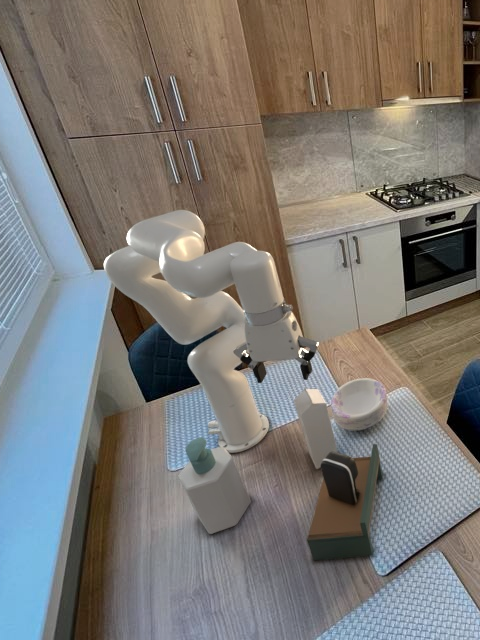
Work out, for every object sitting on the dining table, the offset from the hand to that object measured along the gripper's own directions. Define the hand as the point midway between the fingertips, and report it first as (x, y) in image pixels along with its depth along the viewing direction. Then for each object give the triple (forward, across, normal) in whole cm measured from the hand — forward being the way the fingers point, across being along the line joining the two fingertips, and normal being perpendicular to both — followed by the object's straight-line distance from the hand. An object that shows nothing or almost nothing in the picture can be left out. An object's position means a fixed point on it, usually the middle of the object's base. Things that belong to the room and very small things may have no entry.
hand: (285, 377), depth 88 cm
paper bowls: (+31, -10, -16) cm, 36 cm away
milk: (+31, -2, -4) cm, 31 cm away
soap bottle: (+31, +17, +9) cm, 36 cm away
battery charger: (+24, -12, +12) cm, 29 cm away
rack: (+30, -12, +12) cm, 35 cm away
